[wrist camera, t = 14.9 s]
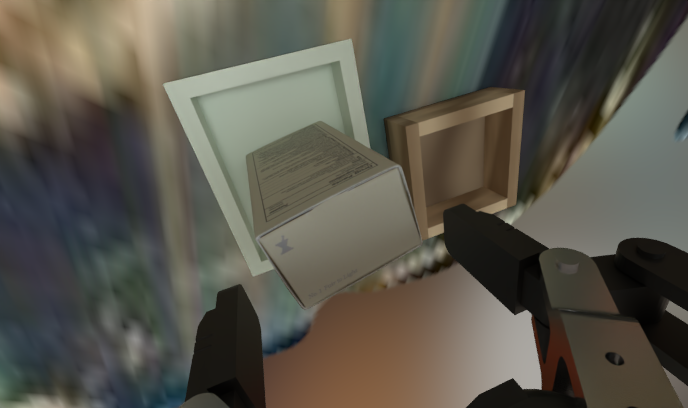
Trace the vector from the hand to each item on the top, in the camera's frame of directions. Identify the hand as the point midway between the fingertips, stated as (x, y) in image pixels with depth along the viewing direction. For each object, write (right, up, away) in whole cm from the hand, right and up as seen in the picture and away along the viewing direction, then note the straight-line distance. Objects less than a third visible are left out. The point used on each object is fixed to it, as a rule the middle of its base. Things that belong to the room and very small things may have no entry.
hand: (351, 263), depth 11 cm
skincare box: (-4, +6, +11) cm, 13 cm away
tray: (-4, +6, +12) cm, 14 cm away
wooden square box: (+9, +6, +16) cm, 19 cm away
